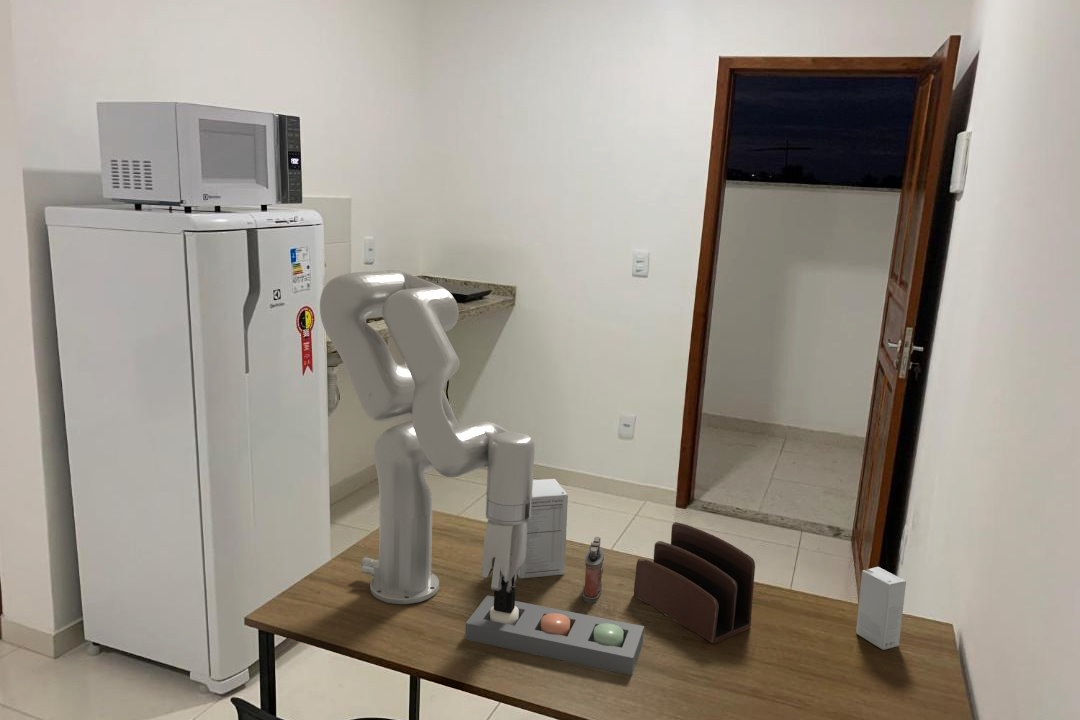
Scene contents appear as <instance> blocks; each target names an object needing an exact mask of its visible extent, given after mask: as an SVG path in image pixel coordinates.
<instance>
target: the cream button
mask: <svg viewBox="0 0 1080 720" xmlns="http://www.w3.org/2000/svg"><path fill="white" fill-rule="evenodd" d="M518 616H519V609H518V608H517V607H516V606H515V608H514V609H513V611H512V612H511V613H505V612H500V611H495V610H494V606H492V607H491V609H490V621H494V622H499V623H504V624H509V625H514V626H515V624H516V623H517V621H518Z"/></svg>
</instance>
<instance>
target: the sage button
mask: <svg viewBox="0 0 1080 720" xmlns="http://www.w3.org/2000/svg"><path fill="white" fill-rule="evenodd" d="M623 634H624V632H623V630H622V628H620V627H619V626H617V625H614V624H608V623H604V624H599V625H597V626H596V627H595V628H594V639H593V642H596V643H601V644H606V645H611V646H616V647H621V648H622V647H623Z"/></svg>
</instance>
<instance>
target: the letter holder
mask: <svg viewBox="0 0 1080 720" xmlns="http://www.w3.org/2000/svg"><path fill="white" fill-rule="evenodd" d="M670 537H671V538H670V543H668V542H665V541H661V540H658V541H656V542H655V543H654V549H653V561H652V560H649V559H645V558H638V559H637V561H636V563H635V564H636V566H635V575H634V584H633V587H634V588H633V596H634V597H635V598H637V599H638V600H641V601H642V602H644V603H646V604H647V605H649V606H651V607H652V608H654V609H655V610H657V611H658V612H660V613H662V614H663V615H665V616H667V617H668V618H670V619H671V620H673V621H675V622H676V623H678V624H680V625H681V626H683V627H684V628H686V629H688V630H689V631H691V632H693V633H694V634H697V636H699V637H701V638H703V639H704V640H706V641H708V642H709V643H711V644H713V645H715V644H717V643H719V642H721V641H724V640H726V639H728V638H730V637H732V636H735V635H738V634H740V633H742V632H744V631H747V630H749V629H750V628H751V626H752V613H753V612H752V610H753V600H754V599H753V598H754V589H755V588H754V587H755V583H754V582H755V574H756V573H755V571H756V563H755V559H753V557H751V556H750V555H749V554H748V553H745V552H744V551H742V550H741V549H740V548H738V547H736V546H734V545H733V544H731V543H730V542H727V541H726V540H724V539H723V538H722V539H721V538H720V537H718V536H716V535H713V534H711V533H708V532H706V531H704V530H702V529H699V528H697V527H693V526H691V525H688V524H685V523H682V522H678V521H675V522H673V523H672V524H671V536H670Z"/></svg>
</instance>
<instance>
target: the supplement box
mask: <svg viewBox="0 0 1080 720" xmlns="http://www.w3.org/2000/svg"><path fill="white" fill-rule="evenodd" d="M568 497H569V495H568V493H567V492H566V490H565V489H564V488H563V487H562V485H560V483H559V482H558V480H557V479H555V478H546V479H533V489H532V508H531V519H530V520H529V521H527V549H526V557H525V560H524V562H523V564H522V565H521V567H520V568H519V569H518V571H517V576H518V578H519V579H528V578H539V577H550V576H560V575H565V572H566V571H565V570H566V547H567V545H566V544H567V527H568V525H567V524H568V523H567V521H568V519H567V518H568V502H569V501H568V500H569V499H568Z"/></svg>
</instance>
